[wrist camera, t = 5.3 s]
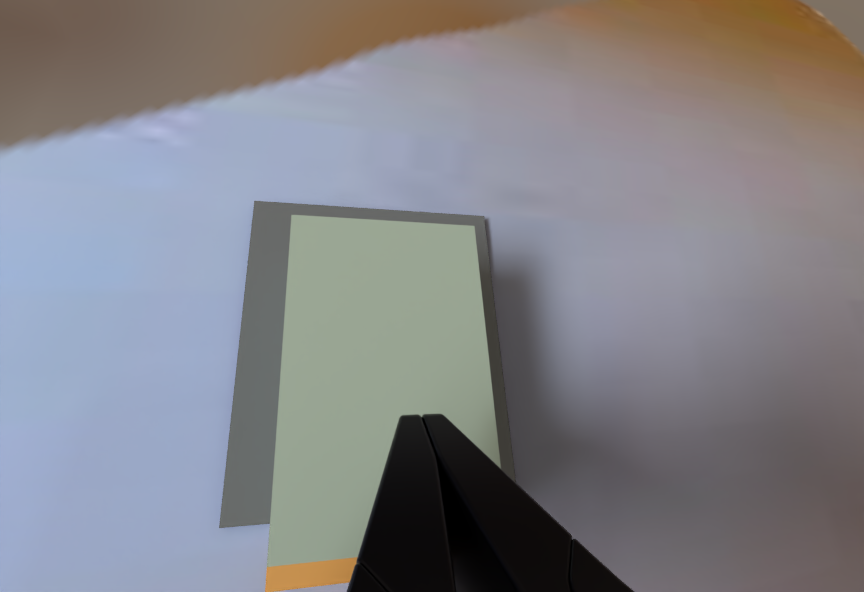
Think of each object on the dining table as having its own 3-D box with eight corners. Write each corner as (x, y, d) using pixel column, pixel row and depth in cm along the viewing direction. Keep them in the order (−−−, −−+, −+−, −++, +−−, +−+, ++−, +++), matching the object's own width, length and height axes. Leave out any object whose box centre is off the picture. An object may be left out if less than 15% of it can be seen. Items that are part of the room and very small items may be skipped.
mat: (514, 500, 16) (517, 501, 15) (221, 526, 14) (219, 527, 13) (481, 219, 20) (483, 216, 20) (255, 205, 18) (254, 201, 18)
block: (511, 562, 11) (474, 225, 15) (265, 592, 10) (291, 214, 13) (467, 539, 15) (446, 273, 18) (283, 558, 13) (300, 268, 17)
